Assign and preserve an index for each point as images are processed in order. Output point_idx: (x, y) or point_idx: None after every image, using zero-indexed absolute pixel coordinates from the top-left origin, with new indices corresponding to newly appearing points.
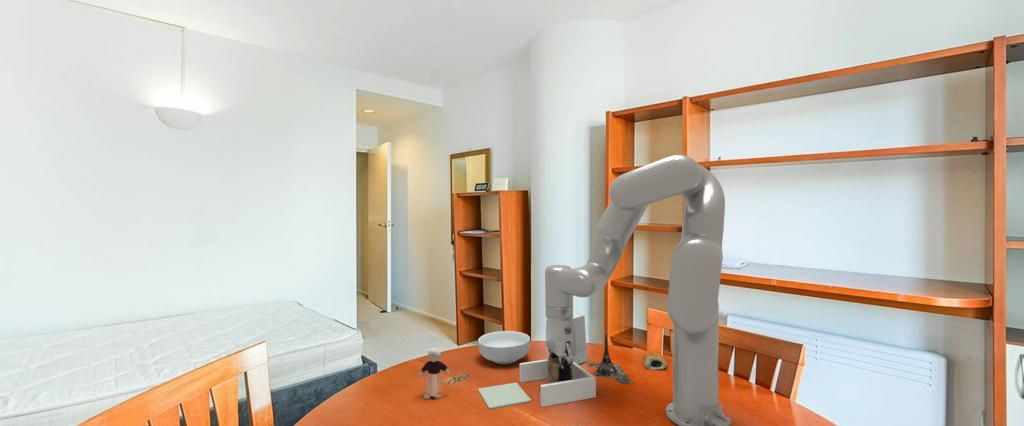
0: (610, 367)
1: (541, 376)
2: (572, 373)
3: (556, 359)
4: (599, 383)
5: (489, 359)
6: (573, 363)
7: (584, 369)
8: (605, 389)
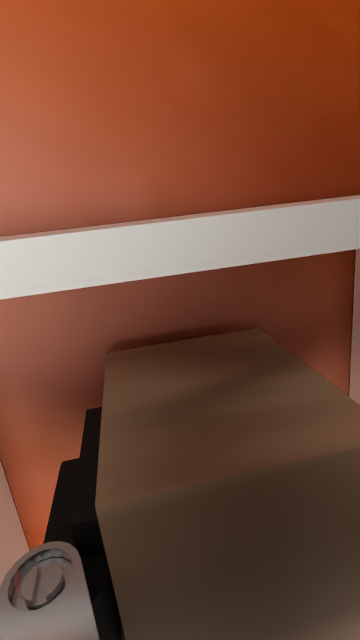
0: None
1: (1, 497)
2: (310, 368)
3: (197, 621)
4: (180, 21)
5: None
6: (67, 279)
7: (311, 205)
8: (304, 35)
